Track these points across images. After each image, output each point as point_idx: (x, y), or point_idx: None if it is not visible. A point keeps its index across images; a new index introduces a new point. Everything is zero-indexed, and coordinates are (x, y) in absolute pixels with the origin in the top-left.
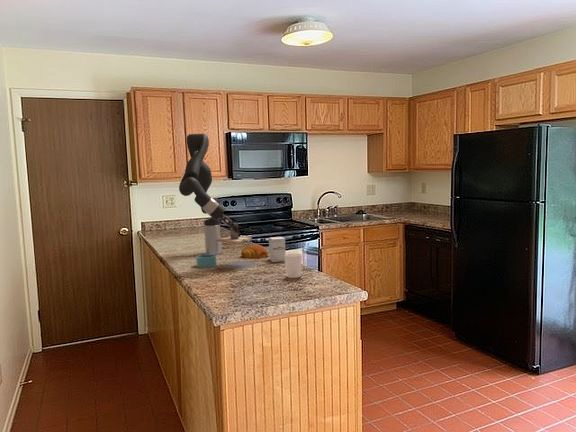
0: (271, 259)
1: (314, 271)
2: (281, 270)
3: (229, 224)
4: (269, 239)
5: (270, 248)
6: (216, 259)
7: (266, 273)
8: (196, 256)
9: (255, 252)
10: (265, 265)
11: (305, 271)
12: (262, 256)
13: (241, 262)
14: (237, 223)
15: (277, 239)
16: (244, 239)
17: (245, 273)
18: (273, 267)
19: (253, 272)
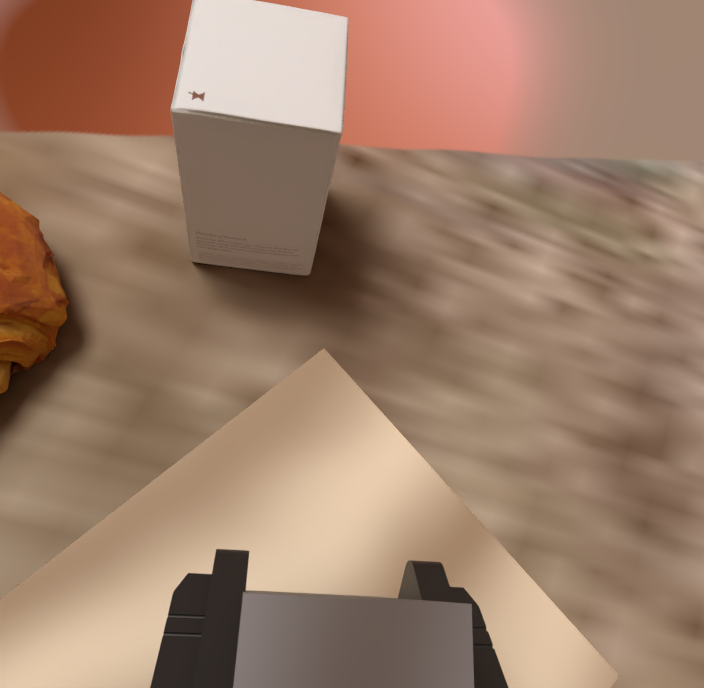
0: (278, 262)
1: (676, 164)
2: (599, 317)
3: None
4: (209, 129)
5: (252, 201)
6: None
7: (667, 445)
8: None
9: (22, 318)
10: (383, 360)
11: (664, 204)
12: (58, 274)
13: None
14: (471, 624)
15: (345, 87)
16: (473, 514)
17: (630, 609)
18: (482, 331)
19: (610, 532)
